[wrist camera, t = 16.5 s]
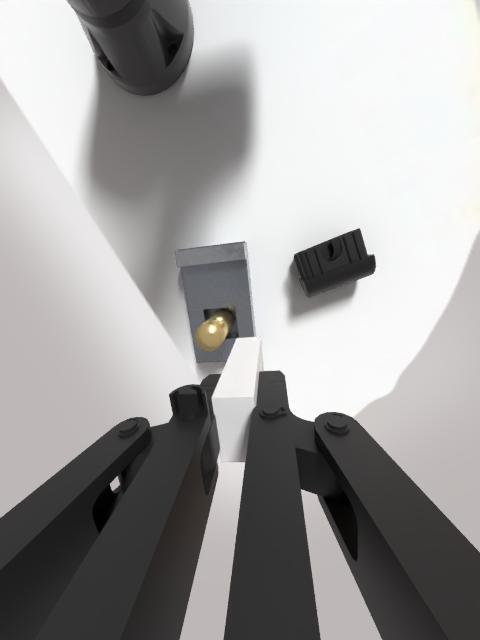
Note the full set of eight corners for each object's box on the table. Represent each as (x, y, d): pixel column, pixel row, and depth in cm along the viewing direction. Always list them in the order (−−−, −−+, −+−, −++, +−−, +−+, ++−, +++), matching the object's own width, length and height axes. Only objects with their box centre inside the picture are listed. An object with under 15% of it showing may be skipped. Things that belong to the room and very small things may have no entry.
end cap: (304, 294, 41) (310, 301, 35) (290, 255, 40) (294, 255, 33) (362, 272, 39) (380, 275, 33) (350, 231, 38) (366, 225, 31)
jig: (185, 250, 42) (174, 249, 37) (246, 243, 40) (243, 240, 35) (202, 355, 46) (194, 366, 41) (257, 352, 45) (256, 363, 40)
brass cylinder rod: (210, 311, 42) (191, 325, 33) (232, 308, 42) (219, 322, 32) (214, 332, 43) (197, 352, 34) (235, 329, 43) (224, 349, 33)
